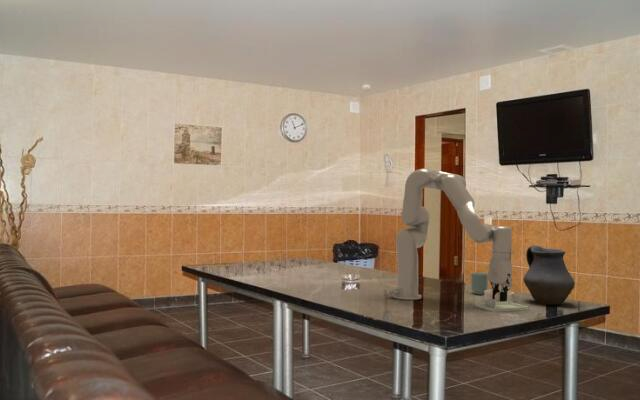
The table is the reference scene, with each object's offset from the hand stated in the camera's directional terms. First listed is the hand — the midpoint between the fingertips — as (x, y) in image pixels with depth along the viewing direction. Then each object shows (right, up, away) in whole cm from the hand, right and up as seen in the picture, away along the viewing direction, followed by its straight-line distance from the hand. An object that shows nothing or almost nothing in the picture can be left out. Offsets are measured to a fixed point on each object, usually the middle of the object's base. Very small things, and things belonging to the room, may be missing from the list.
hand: (499, 299), depth 221 cm
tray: (+1, -4, -1) cm, 4 cm away
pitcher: (+25, -4, +14) cm, 29 cm away
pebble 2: (0, -1, 0) cm, 1 cm away
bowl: (+5, -4, +15) cm, 16 cm away
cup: (+2, -4, +36) cm, 37 cm away
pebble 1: (-5, -3, -2) cm, 6 cm away
